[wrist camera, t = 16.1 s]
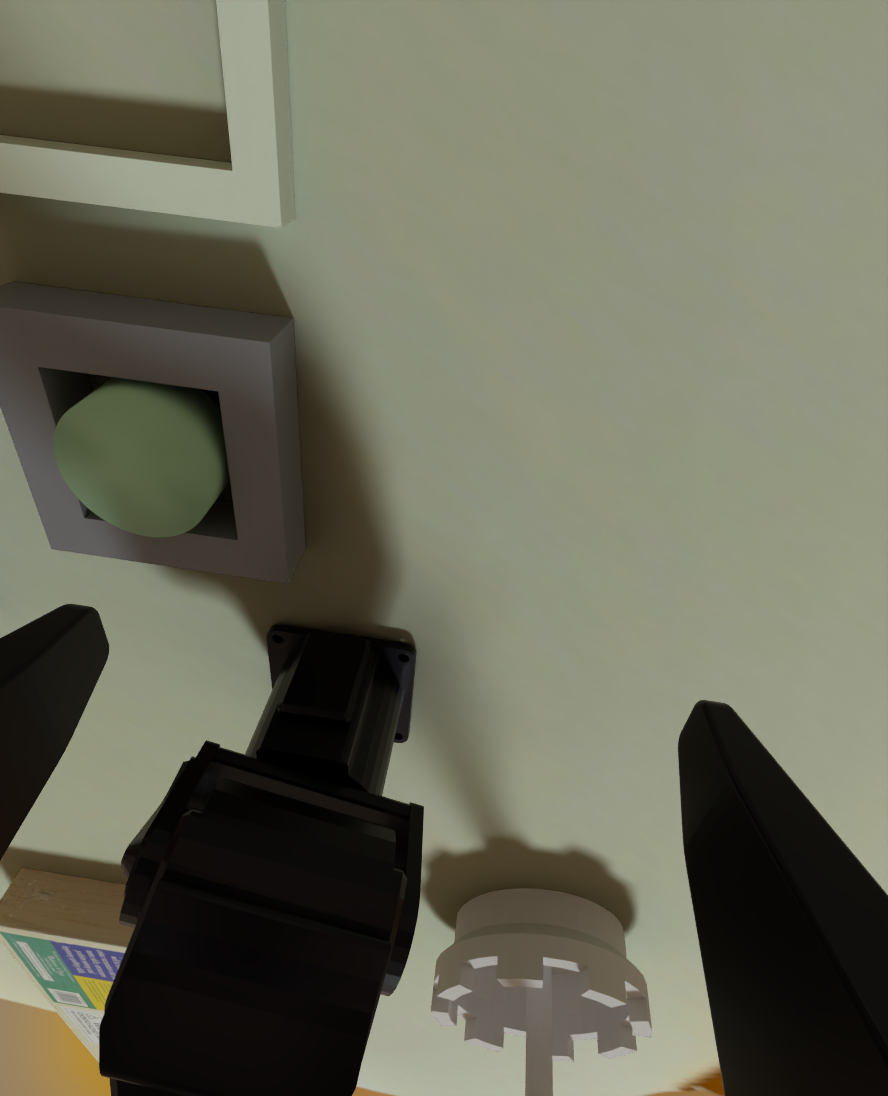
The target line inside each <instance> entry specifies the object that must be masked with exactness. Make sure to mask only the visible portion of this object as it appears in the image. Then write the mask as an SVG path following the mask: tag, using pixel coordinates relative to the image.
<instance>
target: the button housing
mask: <svg viewBox="0 0 888 1096" xmlns="http://www.w3.org/2000/svg"><path fill="white" fill-rule="evenodd" d="M88 374H95V375H102V376H109V377H117V378H124V379H131V380H139V381H146V382H153V383H161V384H168V385H175V386H183V387H190V388H197V389H205V390H212V391H218V393H219V400H220V408H221V415H222V423H223V430H224V438H225V445H226V453H227V460H228V468H229V475H230V483H231V490H232V498H233V502H226V501H219V500H216V501H215V502H214V504H213V505H212V506H211V508H210V509H209V510H208V512H207V513H206V514H205V516H204V517H203V518H202V520H201V521H200V522H199V523H198V524H197V525H196V526H195V527H193V528H192V529H190V530H189V531H187V532H185V533H183V534H179V535H176V536H171V537H147V536H142V535H138V534H134V533H131V532H128V531H125V530H123V529H120V528H118V527H116V526H114V525H112V524H110V523H108V522H107V521H105V520H103V519H102V518H100V517H99V516H98V515H96V514H95V513H93V512H92V511H91V510H90V509H89V508H87V507H86V506H85V505H84V504H83V503H82V502H81V501H80V500H79V499H78V498H77V497H76V496H75V494H74V493H73V492H72V491H71V489H70V488H69V487H68V485H67V484H66V482H65V481H64V479H63V477H62V475H61V473H60V471H59V468H58V466H57V463H56V460H55V456H54V449H53V438H54V432H55V428H56V426H57V424H58V422H59V420H60V419H61V417H62V416H63V415H64V414H65V413H66V412H67V411H68V410H69V409H70V408H72V407H73V406H74V405H76V404H77V403H79V402H80V401H81V400H83V399H84V398H85V397H87V396H88V395H89V394H91V393H92V390H91V386H90V382H89V378H88ZM0 407H1V409H2V412H3V415H4V418H5V420H6V423H7V426H8V429H9V432H10V434H11V437H12V440H13V443H14V446H15V448H16V451H17V454H18V457H19V459H20V462H21V465H22V468H23V471H24V473H25V476H26V479H27V482H28V485H29V487H30V490H31V493H32V496H33V499H34V501H35V504H36V507H37V510H38V512H39V515H40V518H41V521H42V524H43V526H44V529H45V532H46V535H47V538H48V540H49V543H50V546H51V549H55V550H61V551H68V552H75V553H82V554H88V555H95V556H102V557H109V558H116V559H122V560H129V561H136V562H143V563H149V564H156V565H163V566H170V567H176V568H183V569H190V570H197V571H203V572H210V573H217V574H224V575H230V576H237V577H244V578H251V579H257V580H264V581H271V582H278V583H285V584H289V582H290V580H291V578H292V576H293V573H294V571H295V569H296V567H297V565H298V563H299V561H300V559H301V557H302V555H303V553H304V551H305V549H306V544H305V525H304V507H303V488H302V469H301V451H300V432H299V413H298V394H297V376H296V357H295V338H294V320H293V318H289V317H281V316H273V315H266V314H258V313H250V312H243V311H235V310H227V309H220V308H212V307H204V306H197V305H189V304H181V303H174V302H166V301H159V300H151V299H143V298H136V297H128V296H120V295H113V294H105V293H97V292H90V291H82V290H74V289H67V288H59V287H51V286H44V285H36V284H28V283H21V282H10V283H8V284H6V285H3V286H1V287H0Z"/></svg>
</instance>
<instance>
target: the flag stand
mask: <svg viewBox="0 0 888 1096" xmlns="http://www.w3.org/2000/svg"><path fill="white" fill-rule="evenodd" d="M431 1013H432V1015H433V1017H434V1019H435V1020H436V1021H437V1023H438V1024H439V1025H440V1026H456V1023H457V1015H458V1016H460V1017H461V1018H463V1019H465V1020H466V1025H465V1038H464V1041H466V1042H469V1043H471V1044H474V1045H476V1046H479V1047H482V1048H485V1049H488V1050H491V1051H495V1052H498V1051H499V1050H501V1049H502V1048H503V1040H504V1033H507V1034H511V1035H515V1036H522V1037H526V1088H525V1096H553V1072H552V1061H557V1062H574V1049H573V1041H578V1040H593V1039H598V1054H600V1055H602V1056H604V1057H606V1058H608V1059H612V1058H617V1057H621V1056H625V1055H627V1054H630V1053H633V1052H635V1051H637V1047H636V1037H635V1036H641V1037H650V1038H651V1033H652V1026H651V1018H650V1009H649V1000H648V992H647V984H646V981H645V979H644V976H643V975H642V974H641V972H640V971H639V970H638V969H637V968H636V967H635V966H634V965H633V964H632V963H631V962H630V961H629V960H628V959H627V958H626V947H625V937H624V930H623V927H622V925H621V922H620V921H619V920H618V919H617V918H616V917H615V915H613V914H612V913H611V912H609V911H608V910H607V909H605V908H604V907H602V906H600V905H598V904H596V903H594V902H592V901H590V900H587V899H584V898H581V897H579V896H576V895H572V894H567V893H563V892H559V891H552V890H545V889H531V888H518V889H505V890H498V891H492V892H489V893H486V894H482V895H479V896H477V897H475V898H473V899H471V900H469V901H468V902H467V903H465V904H464V905H463V906H462V907H461V908H460V910H459V912H458V913H457V921H456V931H455V941H454V944H452V945H451V946H450V947H448V948H447V949H446V950H445V951H443V952H442V953H441V954H440V956H439V957H438V959H437V961H436V969H435V978H434V987H433V996H432V1005H431Z"/></svg>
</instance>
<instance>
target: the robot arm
mask: <svg viewBox="0 0 888 1096" xmlns="http://www.w3.org/2000/svg"><path fill="white" fill-rule="evenodd" d="M278 635H280V636H278ZM267 645H268V654H269V663H270V671H271V680H272V689H273V690H272V692H271V695H270V697H269V699H268V702H267V704H266V706H265V709H264V711H263V713H262V716H261V718H260V720H259V723H258V725H257V727H256V730H255V732H254V734H253V737H252V739H251V741H250V744H249V746H248V748H247V751H246V753H245V755H244V754H241V753H238V752H234V751H231V750H228V749H224V748H221V747H220V744H217V743H213V742H210V741H207V740H206V741H205V743H204V745H203V746H202V748H201V750H200V751H199V753H198V755H197V756H196V758H195V757H191V759H190V760H189V761H186V762H183V764H182V766H181V768H180V770H179V772H178V774H177V776H176V777H175V779H174V781H173V783H172V785H171V787H170V789H169V791H168V793H167V795H166V796H165V798H164V800H163V801H162V803H161V804H160V806H159V807H158V808H157V810H156V811H155V812H154V814H153V815H152V816H151V817H150V819H149V820H148V821H147V823H146V824H145V825H144V826H143V828H142V829H141V830H140V832H139V833H138V834H137V835H136V837H135V838H134V839H133V841H132V842H131V843H130V844H129V846H128V847H127V849H126V851H125V853H124V856H123V858H122V861H121V866H122V869H123V871H124V874H125V877H126V880H127V883H126V887H125V891H124V901H123V905H122V908H121V912H120V917H119V923H120V924H121V925H125V926H128V927H132V928H135V929H134V931H133V934H132V936H131V939H130V941H129V944H128V946H127V949H126V951H125V954H124V956H123V959H122V961H121V964H120V966H119V969H118V971H117V974H116V976H115V979H114V981H113V984H112V986H111V989H110V991H109V994H108V996H107V1000H106V1003H105V1010H104V1016H103V1018H102V1021H101V1024H100V1029H99V1068H100V1074H101V1076H104V1077H109V1078H110V1087H111V1096H352V1094H353V1092H354V1090H355V1088H356V1085H357V1081H358V1076H359V1071H360V1067H361V1062H362V1059H363V1055H364V1052H365V1048H366V1045H367V1041H368V1037H369V1034H370V1030H371V1026H372V1023H373V1019H374V1015H375V1012H376V1008H377V1005H378V1001H379V997H380V994H382V995H386V996H390V995H391V994H392V993H393V992H394V990H395V989H396V987H397V985H398V983H399V981H400V978H401V976H402V973H403V970H404V968H405V965H406V962H407V958H408V955H409V952H410V948H411V944H412V940H413V936H414V932H415V927H416V921H417V916H418V909H419V901H420V886H421V862H422V838H423V814H424V806H421V805H417V804H414V803H411V802H410V804H406V803H403V802H399V801H396V800H393V799H389V798H386V797H383V796H382V793H383V789H384V784H385V779H386V775H387V770H388V766H389V761H390V756H391V752H392V747H393V742H396V743H403V742H405V741H407V739H408V736H409V730H410V719H411V708H412V697H413V686H414V675H415V664H416V649H415V648H414V647H413V646H412V645H410V644H407V643H401V642H394V641H387V640H381V639H374V638H368V637H361V636H354V635H348V634H341V633H334V632H328V631H321V630H314V629H308V628H301V627H295V626H288V625H281V624H275V625H273V626H272V627H271V628H270V629H269V632H268V634H267ZM402 654H406V655H402ZM108 655H109V643H108V640H107V637H106V634H105V631H104V628H103V625H102V622H101V619H100V616H99V613H98V611H97V610H96V609H95V608H93V607H89V606H82V605H76V604H66V605H63V606H61V607H59V608H57V609H55V610H53V611H51V612H49V613H47V614H45V615H44V616H42V617H40V618H38V619H36V620H34V621H32V622H30V623H28V624H27V625H25V626H23V627H21V628H19V629H17V630H15V631H13V632H11V633H10V634H8V635H6V636H4V637H2V638H0V860H1V858H2V857H3V855H4V853H5V851H6V850H7V848H8V846H9V845H10V843H11V841H12V840H13V838H14V836H15V835H16V833H17V831H18V830H19V828H20V826H21V825H22V823H23V821H24V819H25V818H26V816H27V814H28V813H29V811H30V809H31V808H32V806H33V804H34V803H35V801H36V799H37V798H38V796H39V794H40V793H41V791H42V789H43V787H44V786H45V784H46V782H47V781H48V779H49V777H50V776H51V774H52V772H53V771H54V769H55V767H56V766H57V764H58V762H59V760H60V759H61V757H62V755H63V753H64V751H65V750H66V748H67V746H68V744H69V742H70V740H71V738H72V736H73V733H74V731H75V729H76V727H77V725H78V723H79V720H80V718H81V716H82V714H83V712H84V709H85V707H86V705H87V703H88V701H89V698H90V696H91V694H92V692H93V690H94V688H95V685H96V683H97V681H98V679H99V677H100V674H101V672H102V670H103V668H104V666H105V664H106V661H107V658H108ZM678 758H679V776H680V795H681V813H682V832H683V845H684V854H685V861H686V868H687V874H688V880H689V886H690V892H691V898H692V904H693V910H694V915H695V921H696V927H697V933H698V939H699V945H700V951H701V957H702V963H703V969H704V975H705V981H706V987H707V992H708V998H709V1004H710V1010H711V1016H712V1022H713V1028H714V1034H715V1040H716V1046H717V1052H718V1058H719V1063H720V1069H721V1075H722V1081H723V1087H724V1093H725V1096H888V895H887V894H886V892H885V891H884V890H883V889H882V888H881V886H880V885H879V884H878V883H877V882H876V880H875V879H874V878H873V877H872V876H871V874H870V873H869V872H868V871H867V870H866V868H865V867H864V866H863V865H862V864H861V862H860V861H859V860H858V859H857V858H856V856H855V855H854V854H853V853H852V852H851V850H850V849H849V848H848V847H847V846H846V844H845V843H844V842H843V841H842V840H841V838H840V837H839V836H838V835H837V834H836V832H835V831H834V830H833V829H832V828H831V826H830V825H829V824H828V823H827V821H826V820H825V819H824V818H823V817H822V815H821V814H820V813H819V812H818V811H817V809H816V808H815V807H814V806H813V805H812V803H811V802H810V801H809V800H808V799H807V797H806V796H805V795H804V794H803V793H802V791H801V790H800V789H799V788H798V787H797V785H796V784H795V783H794V782H793V781H792V779H791V778H790V777H789V776H788V775H787V773H786V772H785V771H784V770H783V769H782V767H781V766H780V765H779V764H778V763H777V761H776V760H775V759H774V758H773V756H772V755H771V754H770V753H769V752H768V750H767V749H766V748H765V747H764V746H763V744H762V743H761V742H760V741H759V740H758V738H757V737H756V736H755V735H754V734H753V732H752V731H751V730H750V729H749V728H748V726H747V725H746V724H745V723H744V722H743V720H742V719H741V718H740V717H739V716H738V714H737V713H736V712H735V711H734V710H733V709H732V707H730V706H729V705H727V704H725V703H720V702H714V701H707V700H700V701H698V702H697V703H696V705H695V706H694V708H693V710H692V712H691V714H690V716H689V718H688V720H687V722H686V723H685V725H684V727H683V729H682V731H681V734H680V737H679V742H678Z"/></svg>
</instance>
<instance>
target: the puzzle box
mask: <svg viewBox="0 0 888 1096" xmlns="http://www.w3.org/2000/svg"><path fill="white" fill-rule="evenodd" d="M125 887H126V885H124V884H118V883H112V882H105V881H99V880H93V879H87V878H81V877H74V876H68V875H62V874H56V873H49V872H43V871H37V870H31V869H24V868H22V869H21V870H20V871H19V873H18V874H17V876H16V877H15V879H14V880H13V882H12V883H11V885H10V886H9V888H8V889H7V891H6V892H5V894H4V895H3V897H2V899H1V900H0V941H1V942H2V943H3V945H4V946H5V947H6V949H7V950H8V951H9V952H10V954H11V955H12V956H13V958H14V959H15V960H16V962H17V963H18V964H19V966H20V967H21V968H22V969H23V971H24V972H25V973H26V975H27V976H28V977H29V978H30V980H31V981H32V982H33V983H34V984H35V986H36V987H37V988H38V989H39V991H40V992H41V993H42V994H43V996H44V997H45V998H46V999H47V1001H48V1002H49V1003H50V1004H51V1005H52V1007H53V1008H54V1009H55V1010H56V1012H57V1013H58V1014H59V1015H60V1017H61V1018H62V1019H63V1020H64V1021H65V1023H66V1024H67V1025H68V1026H69V1028H70V1029H71V1030H72V1031H73V1032H74V1034H75V1035H76V1036H77V1037H78V1038H79V1040H80V1041H81V1042H82V1043H83V1044H84V1046H85V1047H86V1048H87V1049H88V1050H89V1051H90V1053H91V1054H92V1055H93V1056H94V1057H95V1058H96V1060H97V1061H98V1062H99V1029H100V1024H101V1021H102V1018H103V1016H104V1010H105V1003H106V1000H107V996H108V994H109V991H110V989H111V986H112V984H113V981H114V979H115V976H116V974H117V971H118V969H119V966H120V964H121V961H122V959H123V956H124V954H125V951H126V949H127V946H128V944H129V941H130V939H131V936H132V934H133V931H134V929H135V928H132V927H128V926H125V925H121V924H120V923H119V917H120V912H121V908H122V905H123V901H124V891H125Z"/></svg>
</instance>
